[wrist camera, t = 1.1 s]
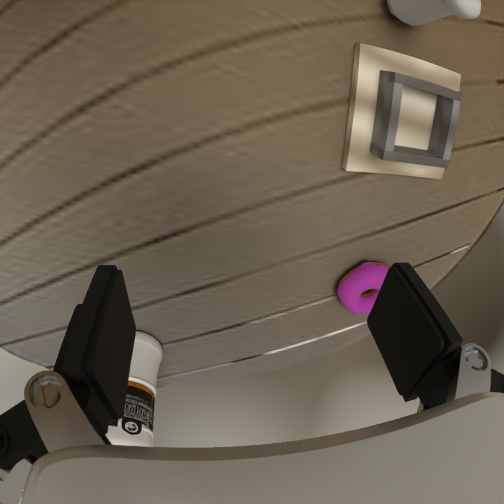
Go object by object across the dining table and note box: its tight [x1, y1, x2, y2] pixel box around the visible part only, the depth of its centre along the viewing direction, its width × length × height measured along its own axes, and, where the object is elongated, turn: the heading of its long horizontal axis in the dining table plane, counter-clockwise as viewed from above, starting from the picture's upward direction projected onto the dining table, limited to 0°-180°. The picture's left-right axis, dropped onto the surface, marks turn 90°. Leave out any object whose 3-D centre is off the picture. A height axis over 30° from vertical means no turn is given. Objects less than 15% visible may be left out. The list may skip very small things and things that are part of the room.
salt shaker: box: [386, 0, 481, 26], centre depth 19 cm, size 6×6×13 cm
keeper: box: [342, 43, 462, 179], centre depth 31 cm, size 16×16×5 cm
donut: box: [337, 262, 390, 314], centre depth 47 cm, size 10×10×5 cm
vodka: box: [105, 331, 163, 447], centre depth 39 cm, size 9×9×30 cm
